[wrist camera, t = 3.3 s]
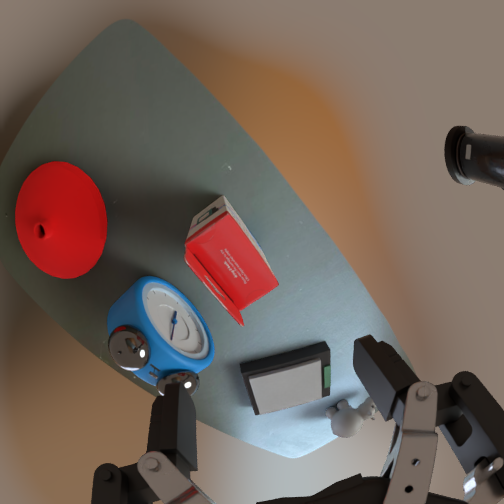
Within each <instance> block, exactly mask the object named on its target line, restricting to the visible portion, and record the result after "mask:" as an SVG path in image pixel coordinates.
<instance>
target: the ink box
mask: <svg viewBox="0 0 504 504" xmlns="http://www.w3.org/2000/svg"><path fill="white" fill-rule="evenodd" d="M185 248H186V250H185V254H184V261H185V262H186V264H187V265H188V266H189V267H190V268H191V270H192V271H193V272H194V273H195V274H196V276H197V277H198V278H199V279H200V280H201V281H202V283H203V284H204V285H205V286H206V287H207V289H208V290H209V291H210V292H211V293H212V294H213V296H214V297H215V298H216V299H217V300H218V301H219V302H220V304H221V305H222V306H223V307H224V308H225V309H226V310H227V311H228V313H229V314H230V315H231V316H232V317H233V318H234V319H235V320H236V321H237V322H238V324H239V325H241V326H242V327H243V326H244V323H243V319H242V316H241V314H240V311H241V310H243V309H244V308H246V307H247V306H249V305H250V304H252V303H253V302H255V301H256V300H258V299H259V298H261V297H263V296H264V295H266V294H267V293H268V292H270V291H271V290H273V289H274V288H276V287H277V286H278V285H279V283H278V281H277V280H276V278H275V276H274V274H273V272H272V270H271V268H270V266H269V264H268V262H267V260H266V258H265V255H264V253H263V251H262V249H261V247H260V245H259V244H258V242H257V241H256V239H255V238H254V237H253V235H252V234H251V232H250V231H249V230H248V228H247V227H246V225H245V224H244V223H243V221H242V220H241V218H240V217H239V216H238V214H237V213H236V211H235V210H234V209H233V207H232V206H231V205H230V203H229V202H228V200H227V199H226V198H225V196H221V197H219V198H218V199H217V200H215V201H214V202H213V203H211V204H210V205H209V206H207V207H206V208H205V209H203V210H202V211H201V212H200V213H198V214H197V215H195V216H194V217H193V220H192V223H191V226H190V229H189V233H188V236H187V239H186V241H185ZM213 287H214V288H213ZM214 289H215V290H216V291H217V292H218V293H217V292H216V291H215V290H214Z"/></svg>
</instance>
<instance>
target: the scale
mask: <svg viewBox="0 0 504 504" xmlns="http://www.w3.org/2000/svg"><path fill="white" fill-rule="evenodd" d="M240 369H241V374H242V377H243V380H244V383H245V386H246V389H247V392H248V395H249V398H250V401H251V404H252V407H253V410H254V413H255V415H259V414H260V415H262V414H266V413H270V412H275V411H279V410H283V409H287V408H290V407H294V406H298V405H301V404H305V403H308V402H311V401H315V400H318V399H321V398H323V397H326V396H329V395H330V385H331V365H330V349H329V347H328V345H327V343H326V342H322V343H319V344H315V345H312V346H309V347H305V348H302V349H298V350H294V351H291V352H287V353H283V354H279V355H275V356H271V357H267V358H263V359H259V360H255V361H250V362H246V363H241V364H240Z"/></svg>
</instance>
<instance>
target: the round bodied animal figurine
mask: <svg viewBox="0 0 504 504" xmlns="http://www.w3.org/2000/svg"><path fill="white" fill-rule="evenodd" d="M375 407H376V405H375V403H374V402H373V400H372V398H371V397H368V398H367V399H366V400H365V402H364V403H362V404H360V405H359V406H358V408H357V409H354V408H352V407H351V406H350V405H349V404H348V402H347V401H346V400H342V401H340V402H338V404H337V408H338V410H336V408H335V407H330V408H328V409H327V410H326V411H325V414H326V416H327V417H328V418H329V419H330V420H331V428H332V431H333V434H335V435H337V436H339V437H344V438H348V437H351V436H354V435H355V434H357V433H358V432H359V431H360V429H361V428H362V425H363V421H364V420H366V419H370V418H371V419H373V420H375V418H374V417H373V416H374V413H375Z"/></svg>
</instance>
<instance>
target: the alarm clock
mask: <svg viewBox="0 0 504 504" xmlns="http://www.w3.org/2000/svg"><path fill="white" fill-rule="evenodd" d="M107 326H108V333H109V340H108V349H109V353H110V355H111V357H112V359H113V360H114V362H115V363H116V364H117V365H118V366H120V367H121V368H123V369H125V370H129V371H132V372H133V373H134V374H135V375H137V376H138V377H139V378H141V379H142V380H144V381H146V382H147V383H149V384H152V385H154V386H156V387H157V389H158V391H159V393H160V394H161V395H164V390H165V385H166V384H170V383H177V382H182V383H183V384H184V386H185V388H186V390H187V391H188V393H189V395H190V397H191V396H192V395H194V394H195V393H196V391H197V390H198V388H199V385H200V380H199V376H198V374H197V373H198V372H200V371H201V370H203V369H204V368H206V367H207V366H209V365H210V364H211V362H212V360H213V357H214V343H213V339H212V336H211V333H210V331H209V329H208V326H207V324H206V323H205V321H204V319H203V318H202V316H201V315H200V313H199V312H198V310H197V309H196V308H195V306H194V305H193V304H192V303H191V302H190V301H189V299H188V298H187V297H186V296H185V295H184V294H183V293H181V292H180V291H179V290H178V289H177V288H176V287H174V286H173V285H171V284H170V283H168V282H167V281H165V280H163V279H160V278H158V277H154V276H145V277H142V278H140V279H138V280H137V281H136V282H135V283H134V284H133V285H132V286H131V287H130V288H129V289H128V290H127V291H126V292H125V293H124V294H123V295H122V296H121V297H120V298H119V299H118V300H117V301H116V302H115V303H114V304H113V305H112V306H111V308H110V310H109V313H108V318H107Z"/></svg>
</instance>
